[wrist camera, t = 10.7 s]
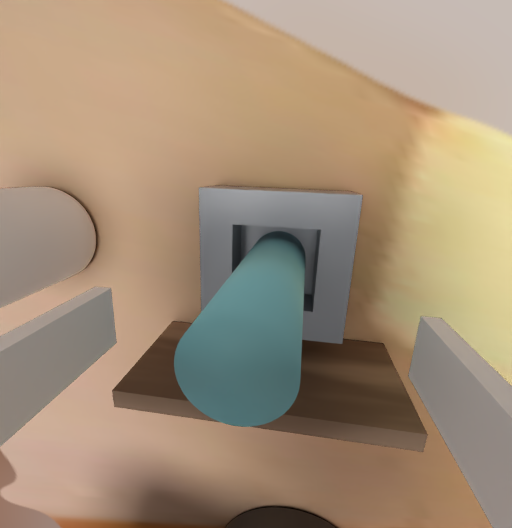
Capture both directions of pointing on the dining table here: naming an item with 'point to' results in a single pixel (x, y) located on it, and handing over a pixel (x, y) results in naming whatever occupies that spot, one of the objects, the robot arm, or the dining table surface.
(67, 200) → the milk bottle
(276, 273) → the peg
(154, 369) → the wooden cutting board
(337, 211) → the socket block
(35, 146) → the dining table surface
